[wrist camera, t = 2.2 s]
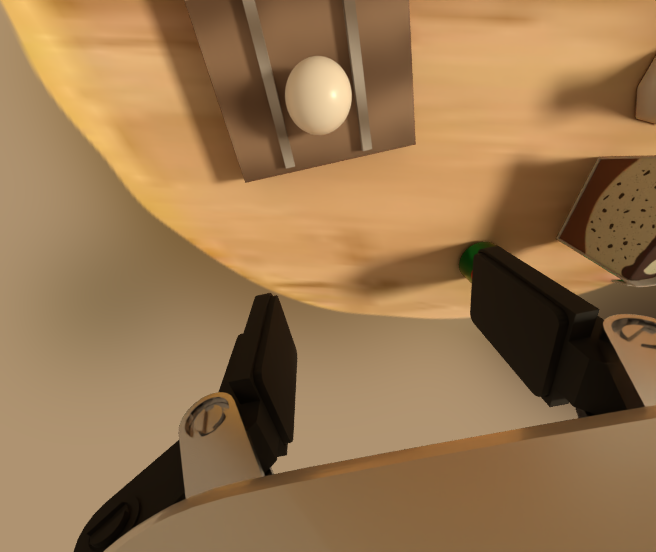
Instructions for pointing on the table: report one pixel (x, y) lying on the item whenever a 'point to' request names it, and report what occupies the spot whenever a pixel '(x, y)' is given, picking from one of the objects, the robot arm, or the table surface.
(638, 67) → the table surface
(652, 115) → the flask
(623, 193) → the food container
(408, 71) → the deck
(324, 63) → the ball
